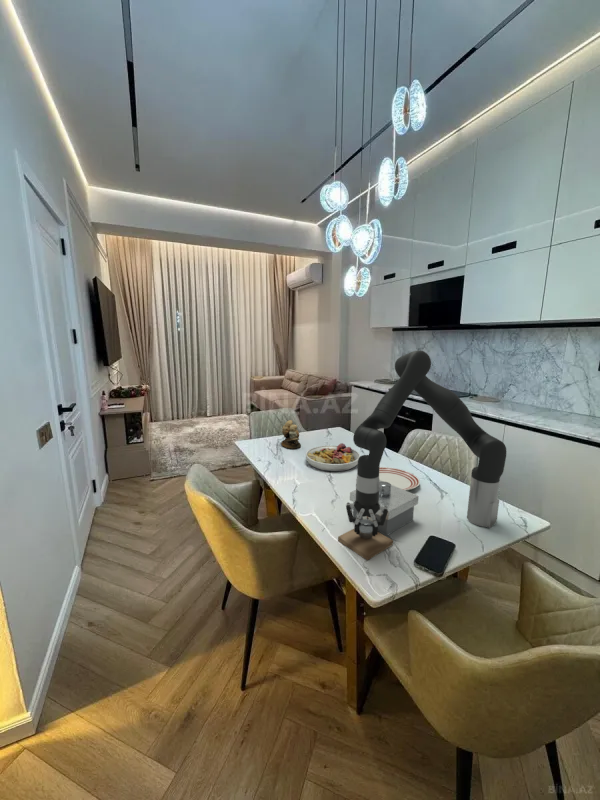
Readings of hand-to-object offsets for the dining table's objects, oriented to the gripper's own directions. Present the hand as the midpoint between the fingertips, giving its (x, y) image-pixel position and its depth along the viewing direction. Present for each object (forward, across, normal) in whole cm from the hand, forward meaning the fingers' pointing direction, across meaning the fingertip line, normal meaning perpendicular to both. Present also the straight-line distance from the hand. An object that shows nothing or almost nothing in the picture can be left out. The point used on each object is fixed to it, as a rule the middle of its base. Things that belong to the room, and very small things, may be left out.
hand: (365, 533), depth 112 cm
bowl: (+4, +19, -71) cm, 73 cm away
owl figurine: (+4, +48, -94) cm, 105 cm away
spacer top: (0, 0, 0) cm, 0 cm away
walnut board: (+3, 0, 0) cm, 3 cm away
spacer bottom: (-7, -6, -17) cm, 19 cm away
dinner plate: (+4, -10, -50) cm, 51 cm away
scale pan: (-4, -6, -17) cm, 18 cm away
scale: (+3, -6, -17) cm, 18 cm away
